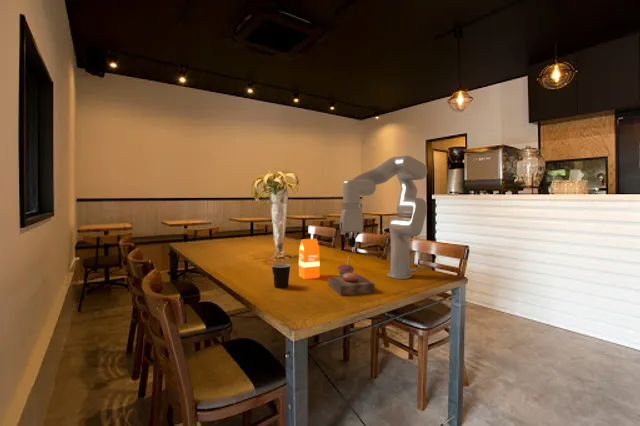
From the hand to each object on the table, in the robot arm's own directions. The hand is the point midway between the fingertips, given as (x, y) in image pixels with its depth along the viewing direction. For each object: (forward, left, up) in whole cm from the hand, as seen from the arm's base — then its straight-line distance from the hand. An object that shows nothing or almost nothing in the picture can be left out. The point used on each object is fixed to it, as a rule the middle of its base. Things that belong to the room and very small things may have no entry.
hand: (351, 246), depth 150 cm
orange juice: (+13, -27, -20) cm, 36 cm away
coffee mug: (+30, -14, -20) cm, 38 cm away
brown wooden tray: (+1, +1, -19) cm, 19 cm away
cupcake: (-4, -18, -20) cm, 27 cm away
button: (+1, +1, -15) cm, 15 cm away
